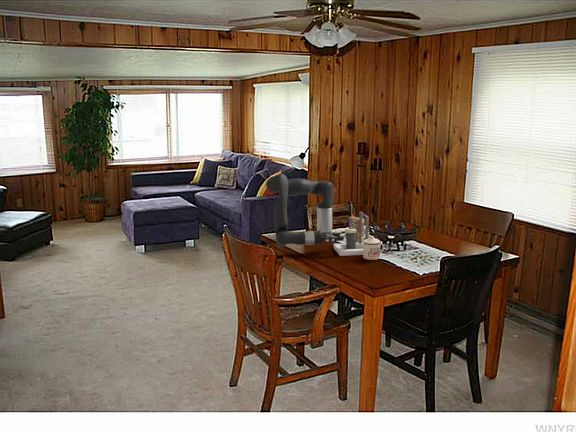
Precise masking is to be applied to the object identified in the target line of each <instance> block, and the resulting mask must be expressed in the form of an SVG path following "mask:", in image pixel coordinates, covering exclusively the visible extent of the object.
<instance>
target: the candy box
mask: <svg viewBox="0 0 576 432" xmlns="http://www.w3.org/2000/svg"><path fill="white" fill-rule="evenodd" d="M348 229H356V230H357V232H356V243H359V217H358V216H357V217H356V216H349V217H348ZM364 240H365V218H363V217H362V243H363V241H364Z"/></svg>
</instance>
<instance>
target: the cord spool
mask: <svg viewBox="0 0 576 432" xmlns="http://www.w3.org/2000/svg"><path fill="white" fill-rule="evenodd" d="M344 232H345V243H346V249H356V232H357V230H356V229H349V228H347V229H345V230H344ZM346 249H344V250H346Z"/></svg>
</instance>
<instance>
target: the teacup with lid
mask: <svg viewBox="0 0 576 432" xmlns="http://www.w3.org/2000/svg"><path fill="white" fill-rule="evenodd" d="M381 247H382V248H381ZM362 249H363V255H362V257H363V259H364V260H369V261H374V260H376V261H377V260H379V259H380V258H381V257H380V256H381V255H380V254H381V253H382V252H383V251H384V250H385V245H384V244H383V243H382V242H381V241H380V240H379V239H377V238H375V237H374V236H373V235H371V236H370V237H368V239H366V240H365V239H364V241H363V248H362Z"/></svg>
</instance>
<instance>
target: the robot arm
mask: <svg viewBox="0 0 576 432" xmlns="http://www.w3.org/2000/svg"><path fill="white" fill-rule="evenodd" d="M265 187H266V189H267V190H268V191H269V192H270V193H274V194H277V193H278V198H277V199H278V200H277V202H276V206H275V210H274V214H273V215H274V217H273V218H274V225H275V242H276V244H277V246H279V247H286V246H287V245H290V244H291V245H295V246H297V245H298V246H300V245H301V246H304V245H305V246H312V245H314V246H315V245H322V243H323V242H325V243H326V244H328V243H337V242H343V241H345V240H344V239H345V237H344V236H341V233H340V232H333V203H334V198H335V197H334V196H335V195H334V194H335V187H334V184H333V182H331V181H325V180H318V181H317V180H316V181H314V180H312V181H310V180H309V179H306V178H298V177H297V178H295V177H294V178H290V179H288V177H287V176H286V175H285V174H284V173H278V174H276V175H273V176H271V177H268V179H266V182H265ZM289 194H293V195H294V194H296V195H301V196H302V195H304V196H305V195H309V194H312V195H315V196H319V197H322V198H323V199H322V200H321V201H319V202H317V203H316V230H307V231H296V232H295V231H289V230H288V227H289V226H288V225H289V221H288V197H289Z"/></svg>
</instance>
